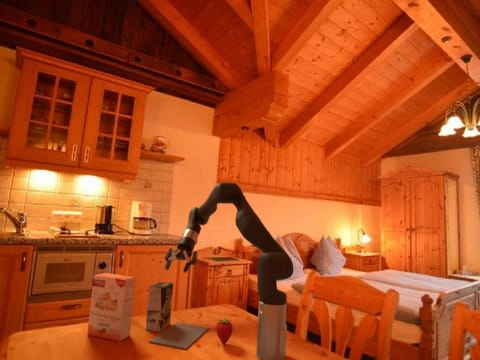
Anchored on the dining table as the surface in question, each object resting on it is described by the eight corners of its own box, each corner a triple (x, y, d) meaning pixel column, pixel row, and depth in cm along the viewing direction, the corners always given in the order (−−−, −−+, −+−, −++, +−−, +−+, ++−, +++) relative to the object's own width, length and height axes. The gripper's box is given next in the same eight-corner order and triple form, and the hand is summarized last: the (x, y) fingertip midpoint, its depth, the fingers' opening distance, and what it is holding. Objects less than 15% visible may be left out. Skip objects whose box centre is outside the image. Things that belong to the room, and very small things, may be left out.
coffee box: (160, 332, 113) (164, 287, 115) (145, 329, 114) (148, 286, 116) (170, 323, 122) (174, 282, 124) (156, 321, 123) (159, 281, 125)
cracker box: (86, 335, 106) (92, 274, 109) (98, 329, 112) (104, 272, 114) (119, 342, 102) (125, 279, 105) (130, 336, 108) (136, 276, 110)
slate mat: (209, 329, 118) (209, 327, 118) (185, 349, 99) (186, 348, 99) (177, 323, 122) (177, 322, 122) (149, 342, 103) (149, 340, 103)
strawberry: (215, 349, 101) (216, 318, 102) (215, 340, 109) (216, 311, 110) (232, 349, 101) (234, 318, 103) (231, 340, 109) (232, 311, 110)
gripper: (172, 234, 143) (158, 263, 131) (200, 237, 140) (188, 267, 128) (176, 244, 148) (163, 273, 136) (203, 247, 144) (192, 277, 132)
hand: (175, 270), depth 132 cm, fingers open, 8 cm apart
